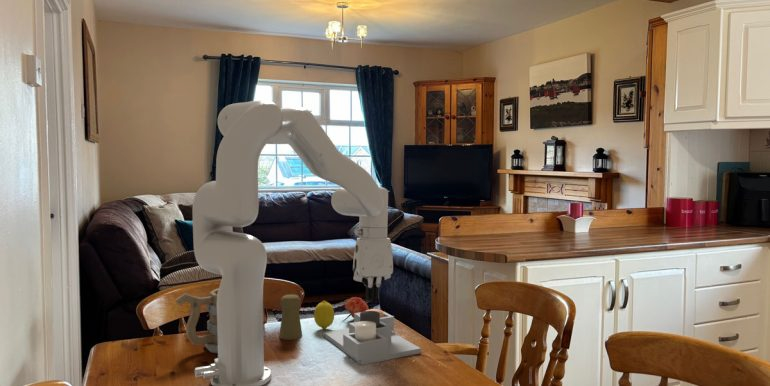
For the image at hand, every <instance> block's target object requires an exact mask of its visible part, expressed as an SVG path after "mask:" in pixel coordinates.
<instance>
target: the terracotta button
mask: <svg viewBox="0 0 770 386" xmlns="http://www.w3.org/2000/svg"><path fill="white" fill-rule="evenodd" d="M366 311H377V312H379V313H380V318H382V317H383V310H382V309H377V308H370V309H369V310H366Z"/></svg>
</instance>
